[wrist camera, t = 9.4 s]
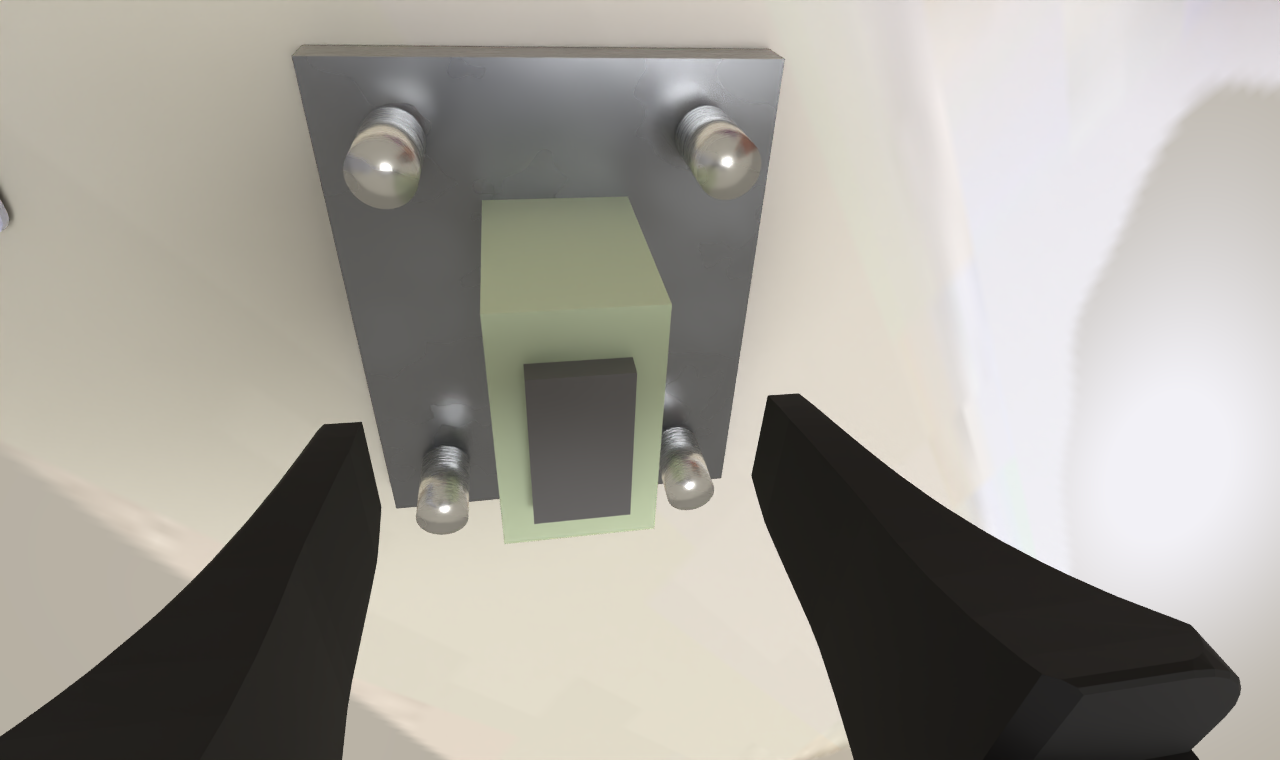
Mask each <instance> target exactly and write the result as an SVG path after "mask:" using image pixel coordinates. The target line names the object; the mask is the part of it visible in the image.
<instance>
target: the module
mask: <svg viewBox="0 0 1280 760" xmlns="http://www.w3.org/2000/svg"><path fill="white" fill-rule="evenodd" d="M671 310H672V303H671V301H670V298H669V296H668V294H667V291H666V289H665V286H664V284H663V281H662V279H661V276H660V274H659V272H658V269H657V267H656V264H655V262H654V259H653V257H652V255H651V252H650V250H649V247H648V245H647V242H646V240H645V237H644V235H643V233H642V230H641V228H640V225H639V223H638V220H637V218H636V215H635V213H634V211H633V208H632V206H631V203H630V201H629V198H628V196H626V197H587V198H548V199H509V200H482V225H481V289H480V318H481V327H482V337H483V346H484V356H485V365H486V374H487V384H488V393H489V402H490V412H491V421H492V431H493V440H494V449H495V459H496V468H497V478H498V487H499V496H500V506H501V515H502V525H503V534H504V543H505V544H509V543H519V542H529V541H538V540H548V539H558V538H567V537H577V536H587V535H596V534H606V533H615V532H625V531H635V530H644V529H654V525H655V512H656V500H657V487H658V474H659V462H660V449H661V436H662V424H663V411H664V399H665V386H666V373H667V361H668V348H669V335H670V323H671Z"/></svg>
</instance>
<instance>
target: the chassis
mask: <svg viewBox="0 0 1280 760" xmlns="http://www.w3.org/2000/svg"><path fill="white" fill-rule="evenodd" d="M292 60H293V64H294V68H295V73H296V77H297V81H298V86H299V90H300V94H301V98H302V103H303V107H304V111H305V116H306V120H307V124H308V129H309V133H310V137H311V142H312V146H313V150H314V155H315V159H316V163H317V168H318V172H319V176H320V181H321V185H322V189H323V194H324V198H325V202H326V206H327V211H328V215H329V219H330V224H331V228H332V232H333V237H334V241H335V245H336V250H337V254H338V258H339V263H340V267H341V271H342V276H343V280H344V284H345V289H346V293H347V297H348V301H349V306H350V310H351V314H352V319H353V323H354V327H355V332H356V336H357V340H358V345H359V349H360V353H361V358H362V362H363V366H364V371H365V375H366V379H367V384H368V388H369V392H370V397H371V401H372V405H373V409H374V414H375V418H376V422H377V427H378V431H379V435H380V440H381V444H382V448H383V453H384V457H385V461H386V466H387V470H388V474H389V479H390V483H391V487H392V492H393V496H394V500H395V505H396V508H407V507H417V513H416V520H417V523H418V525H419V526H420V527H421V528H422V529H424V530H425V531H427V532H430V533H433V534H441V535H443V534H450V533H454V532H456V531H458V530H460V529H461V528H463V527H464V526H465V524H466V523H467V521H468V512H469V502H471V501H482V500H492V499H500V496H499V487H498V478H497V468H496V459H495V449H494V440H493V431H492V421H491V412H490V402H489V393H488V384H487V374H486V365H485V356H484V346H483V337H482V327H481V318H480V289H481V225H482V200H509V199H548V198H587V197H626V196H628V198H629V201H630V203H631V206H632V208H633V211H634V213H635V215H636V218H637V220H638V223H639V225H640V228H641V230H642V233H643V235H644V237H645V240H646V242H647V245H648V247H649V250H650V252H651V255H652V257H653V259H654V262H655V264H656V267H657V269H658V272H659V274H660V276H661V279H662V281H663V284H664V286H665V289H666V291H667V294H668V296H669V298H670V301H671V303H672V310H671V323H670V335H669V348H668V361H667V373H666V386H665V399H664V411H663V424H662V436H661V449H660V462H659V474H658V484H664V488H665V491H666V495H667V498H668V501H669V503H670V504H671V505H672V506H673V507H675V508H677V509H680V510H692V509H696V508H698V507H701V506H703V505H704V504H706V503H707V502H708V501H709V500H710V499H711V497H712V495H713V493H714V486H713V483H712V480H711V479H717V478H721V475H722V469H723V462H724V455H725V449H726V442H727V436H728V429H729V423H730V416H731V409H732V403H733V396H734V390H735V383H736V376H737V370H738V363H739V357H740V350H741V343H742V337H743V330H744V324H745V317H746V311H747V304H748V297H749V291H750V284H751V278H752V271H753V264H754V258H755V251H756V245H757V238H758V231H759V225H760V218H761V212H762V205H763V199H764V192H765V185H766V179H767V172H768V166H769V159H770V152H771V146H772V139H773V133H774V126H775V119H776V113H777V106H778V100H779V93H780V86H781V80H782V73H783V67H784V60H785V59H784V58H782V57H781V56H779V55H778V54H776V53H775V52H773V51H772V50H771V49H701V48H587V47H473V46H359V45H302V46H301V47H300V48H299V49H298V50H297V51H296V52H295V53H294V54H293V55H292Z"/></svg>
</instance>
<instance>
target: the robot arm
mask: <svg viewBox="0 0 1280 760" xmlns="http://www.w3.org/2000/svg"><path fill="white" fill-rule="evenodd" d="M8 223H9V217H8V213H7V211H6V209H5V207H4V205H3V203H2V201H1V200H0V232H1V231H2V230H4V229H5V228H6V227H7V226H8ZM751 476H752V480H753V483H754V487H755V491H756V494H757V498H758V501H759V505H760V508H761V511H762V515H763V518H764V521H765V524H766V526H767V529H768V531H769V533H770V536H771V538H772V540H773V543H774V545H775V547H776V549H777V552H778V554H779V556H780V559H781V561H782V563H783V565H784V568H785V570H786V572H787V574H788V577H789V579H790V581H791V583H792V585H793V588H794V590H795V592H796V594H797V597H798V599H799V601H800V603H801V606H802V608H803V610H804V612H805V615H806V617H807V619H808V621H809V624H810V626H811V628H812V631H813V634H814V636H815V639H816V641H817V644H818V646H819V649H820V652H821V655H822V658H823V661H824V664H825V667H826V670H827V673H828V676H829V680H830V683H831V686H832V689H833V692H834V695H835V698H836V701H837V705H838V708H839V711H840V715H841V718H842V721H843V725H844V728H845V731H846V735H847V738H848V741H849V745H850V748H851V751H852V755H853V758H854V760H1199V759H1198V757H1197V756H1196V755H1195V754H1194V752H1193V751H1192V750H1191V749H1192V748H1193V747H1194V746H1195V745H1197V744H1198V743H1199V741H1201V740H1202V739H1203V738H1204V737H1205V736H1206V735H1207V734H1208V733H1209V732H1210V731H1211V730H1212V729H1213V728H1214V727H1215V726H1216V725H1217V724H1218V723H1219V722H1220V721H1221V720H1222V719H1223V718H1224V717H1225V716H1226V715H1227V714H1228V713H1229V712H1230V710H1231V709H1232V708H1233V707H1234V706H1235V704H1236V702H1237V700H1238V698H1239V695H1240V691H1241V685H1240V680H1239V677H1238V676H1237V675H1236V674H1235V673H1234V672H1233V671H1232V670H1231V669H1230V667H1229V666H1228V665H1227V664H1226V663H1225V662H1224V661H1223V660H1222V659H1221V657H1219V655H1218V654H1217V653H1216V652H1215V651H1214V650H1213V649H1212V648H1211V646H1209V644H1208V643H1207V642H1206V641H1205V640H1204V639H1203V638H1202V637H1201V636H1200V634H1199V633H1198V632H1197V631H1196V630H1195V629H1194V628H1193V627H1192V626H1191V625H1190V624H1187V623H1185V622H1182V621H1179V620H1177V619H1174V618H1172V617H1169V616H1166V615H1164V614H1161V613H1159V612H1156V611H1153V610H1151V609H1148V608H1145V607H1143V606H1140V605H1137V604H1135V603H1133V602H1130V601H1127V600H1125V599H1122V598H1119V597H1117V596H1115V595H1112V594H1110V593H1107V592H1105V591H1103V590H1101V589H1098V588H1096V587H1094V586H1092V585H1090V584H1087V583H1085V582H1083V581H1080V580H1078V579H1076V578H1074V577H1072V576H1069V575H1067V574H1065V573H1063V572H1061V571H1059V570H1057V569H1055V568H1053V567H1051V566H1048V565H1046V564H1044V563H1042V562H1040V561H1038V560H1036V559H1035V558H1033V557H1031V556H1029V555H1027V554H1025V553H1023V552H1021V551H1019V550H1017V549H1016V548H1014V547H1012V546H1010V545H1008V544H1006V543H1004V542H1002V541H1001V540H999V539H997V538H995V537H994V536H992V535H990V534H988V533H986V532H985V531H983V530H981V529H980V528H978V527H976V526H975V525H973V524H972V523H970V522H968V521H967V520H965V519H963V518H962V517H960V516H959V515H957V514H955V513H954V512H952V511H951V510H949V509H947V508H946V507H944V506H943V505H941V504H940V503H938V502H937V501H935V500H934V499H932V498H931V497H929V496H928V495H927V494H925V493H924V492H922V491H921V490H920V489H918V488H917V487H915V486H914V485H913V484H911V483H910V482H908V481H907V480H906V479H904V478H903V477H902V476H900V475H899V474H898V473H896V472H895V471H894V470H892V469H891V468H890V467H888V466H887V465H886V464H885V463H883V462H882V461H881V460H879V459H878V458H877V457H876V456H874V455H873V454H872V453H871V452H869V451H868V450H867V449H866V448H864V447H863V446H862V445H861V444H859V443H858V442H857V441H856V440H855V439H853V438H852V437H851V436H850V435H849V434H847V433H846V432H845V431H844V430H843V429H841V428H840V427H839V426H838V425H837V424H835V423H834V422H833V421H832V420H831V419H829V418H828V417H827V416H826V415H825V414H824V413H822V412H821V411H820V410H819V409H818V408H816V407H815V406H814V405H813V404H811V403H810V402H809V401H808V400H807V399H805V398H804V397H803V396H801V395H800V394H784V395H769V396H768V397H767V402H766V407H765V412H764V417H763V422H762V427H761V431H760V436H759V441H758V446H757V451H756V456H755V461H754V466H753V470H752V475H751ZM380 519H381V504H380V499H379V495H378V490H377V486H376V482H375V477H374V473H373V469H372V464H371V460H370V455H369V451H368V447H367V442H366V438H365V433H364V429H363V425H362V422H354V423H338V424H324V425H323V426H322V427H321V428H320V429H319V430H318V431H317V432H316V434H315V435H314V436H313V438H312V439H311V440H310V442H309V443H308V445H307V446H306V447H305V449H304V450H303V451H302V453H301V454H300V455H299V457H298V458H297V459H296V461H295V462H294V463H293V465H292V466H291V467H290V469H289V470H288V471H287V472H286V474H285V475H284V476H283V478H282V479H281V480H280V482H279V483H278V484H277V485H276V487H275V488H274V489H273V490H272V492H271V493H270V494H269V495H268V496H267V498H266V499H265V500H264V501H263V503H262V504H261V505H260V506H259V508H258V509H257V510H256V511H255V512H254V514H253V515H252V516H251V517H250V518H249V520H248V521H247V522H246V523H245V524H244V525H243V527H242V528H241V529H240V530H239V531H238V532H237V533H236V534H235V535H234V536H233V538H232V539H231V540H230V541H229V542H228V543H227V544H226V545H225V546H224V548H223V549H222V550H221V551H220V552H219V553H218V554H217V555H216V556H215V558H214V559H213V560H212V561H211V562H210V563H209V564H208V565H207V566H206V567H205V568H204V569H203V570H202V571H201V572H200V573H199V574H198V575H197V576H196V577H195V578H194V579H193V580H192V581H191V582H190V583H189V584H188V585H187V586H186V587H185V588H184V589H183V590H182V591H181V592H180V593H179V594H178V595H177V596H176V597H175V598H174V599H173V600H172V601H171V602H170V603H168V604H167V605H166V606H165V607H164V608H163V609H162V610H161V611H160V612H159V613H158V614H157V615H156V616H155V617H153V618H152V619H151V620H150V621H149V622H148V623H147V624H145V625H144V626H143V627H142V628H141V629H140V630H138V631H137V632H136V633H135V634H134V635H132V636H131V637H130V638H129V639H128V640H126V641H125V642H124V643H123V644H122V645H120V646H119V647H118V648H117V649H116V650H114V651H113V652H112V653H111V654H110V655H108V656H107V657H106V658H105V659H104V660H103V661H101V662H100V663H99V664H98V665H96V666H95V667H94V668H93V669H91V671H89V672H88V673H87V674H85V675H84V676H83V677H81V678H80V679H79V680H77V681H76V682H75V683H73V684H72V685H71V686H69V687H68V688H67V689H65V690H64V691H63V692H62V693H60V694H59V695H58V696H56V697H55V698H54V699H52V700H51V701H49V702H48V703H47V704H45V705H44V706H42V707H41V708H40V709H38V710H37V711H36V712H34V713H33V714H31V715H30V716H29V717H27V718H26V719H24V720H23V721H22V722H21V723H19V724H18V725H16V726H15V727H13V728H12V729H10V730H9V731H8V732H6V733H5V734H3V735H2V736H0V760H342V755H343V745H344V736H345V726H346V716H347V708H348V702H349V696H350V690H351V684H352V679H353V674H354V670H355V665H356V660H357V655H358V651H359V646H360V641H361V636H362V632H363V627H364V622H365V618H366V613H367V608H368V603H369V599H370V594H371V589H372V584H373V579H374V574H375V569H376V564H377V557H378V545H379V533H380Z"/></svg>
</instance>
